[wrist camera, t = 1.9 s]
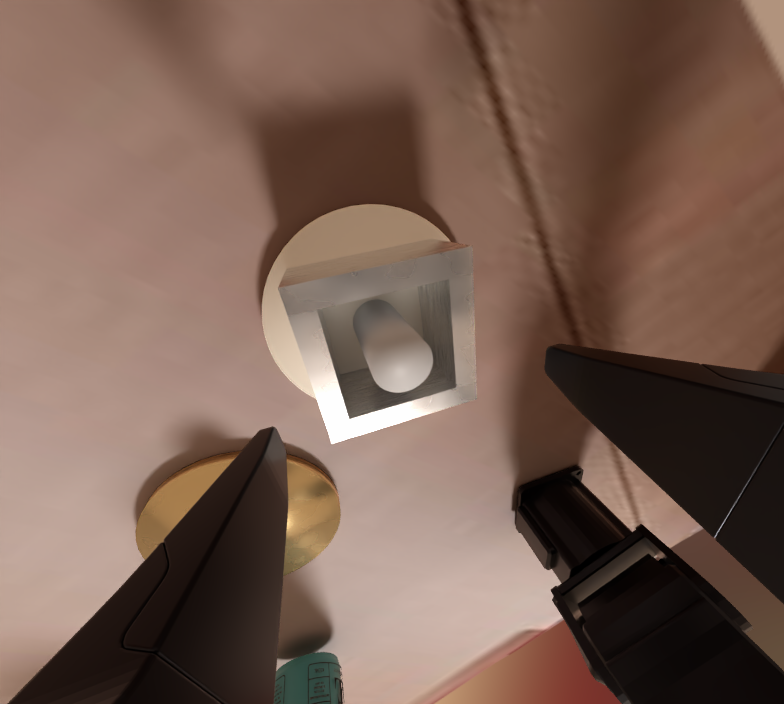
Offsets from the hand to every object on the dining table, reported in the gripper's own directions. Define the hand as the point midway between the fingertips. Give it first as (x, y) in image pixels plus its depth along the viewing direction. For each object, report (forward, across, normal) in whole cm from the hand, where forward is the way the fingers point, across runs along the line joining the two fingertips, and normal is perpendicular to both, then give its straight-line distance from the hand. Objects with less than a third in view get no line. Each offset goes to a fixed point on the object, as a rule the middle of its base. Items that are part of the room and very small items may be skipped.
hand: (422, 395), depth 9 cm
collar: (+7, 0, 0) cm, 7 cm away
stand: (+8, 0, 0) cm, 8 cm away
